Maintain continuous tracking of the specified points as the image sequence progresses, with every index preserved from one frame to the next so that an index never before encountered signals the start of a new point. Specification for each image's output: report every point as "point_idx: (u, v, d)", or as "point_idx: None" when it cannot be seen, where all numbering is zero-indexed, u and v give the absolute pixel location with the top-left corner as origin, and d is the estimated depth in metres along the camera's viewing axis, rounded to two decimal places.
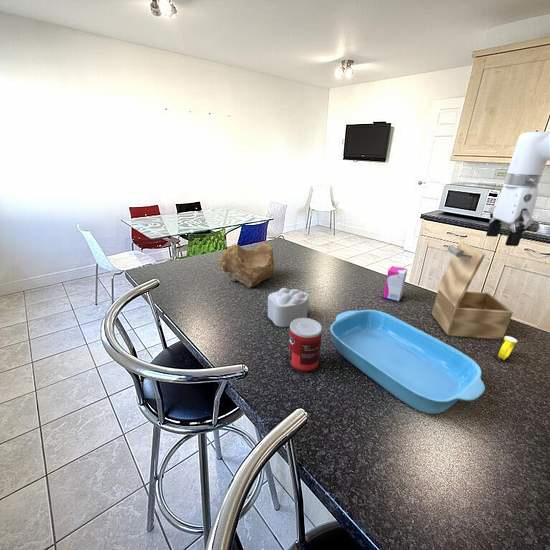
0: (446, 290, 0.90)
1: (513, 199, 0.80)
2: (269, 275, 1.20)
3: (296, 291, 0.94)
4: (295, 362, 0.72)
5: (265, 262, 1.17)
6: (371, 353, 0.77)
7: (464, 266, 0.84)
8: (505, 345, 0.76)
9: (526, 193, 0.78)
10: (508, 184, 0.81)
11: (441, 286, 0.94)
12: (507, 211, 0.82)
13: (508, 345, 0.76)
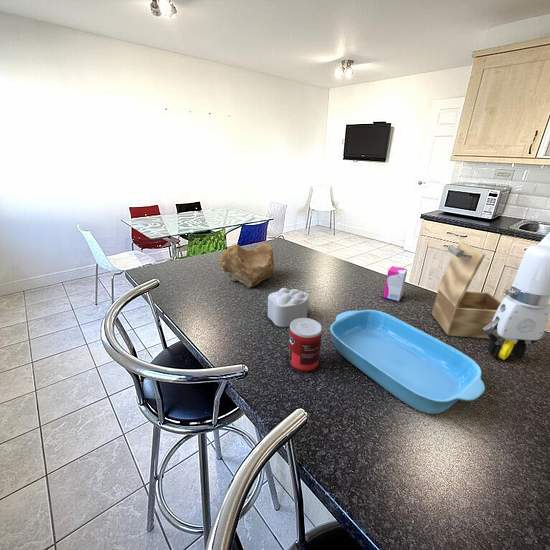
0: (446, 290, 0.90)
1: None
2: (269, 275, 1.20)
3: (296, 291, 0.94)
4: (295, 362, 0.72)
5: (265, 262, 1.17)
6: (372, 353, 0.77)
7: (464, 266, 0.84)
8: (505, 345, 0.76)
9: (503, 302, 0.74)
10: None
11: (441, 286, 0.94)
12: None
13: (508, 345, 0.76)
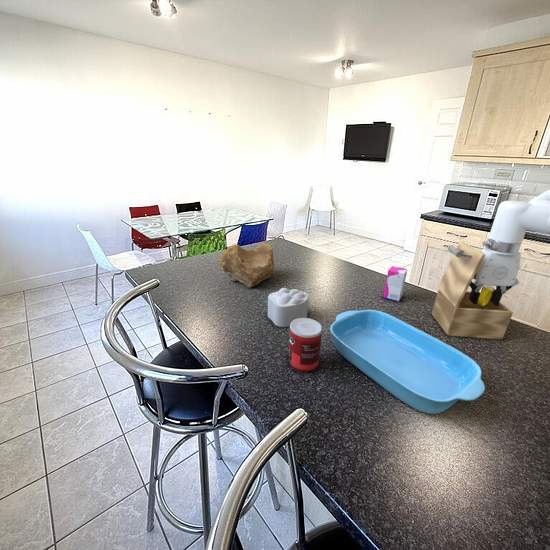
0: (446, 290, 0.90)
1: None
2: (269, 275, 1.20)
3: (296, 291, 0.94)
4: (295, 362, 0.72)
5: (265, 262, 1.17)
6: (372, 353, 0.77)
7: (464, 266, 0.84)
8: (483, 292, 0.86)
9: None
10: None
11: (441, 286, 0.94)
12: None
13: (486, 292, 0.86)
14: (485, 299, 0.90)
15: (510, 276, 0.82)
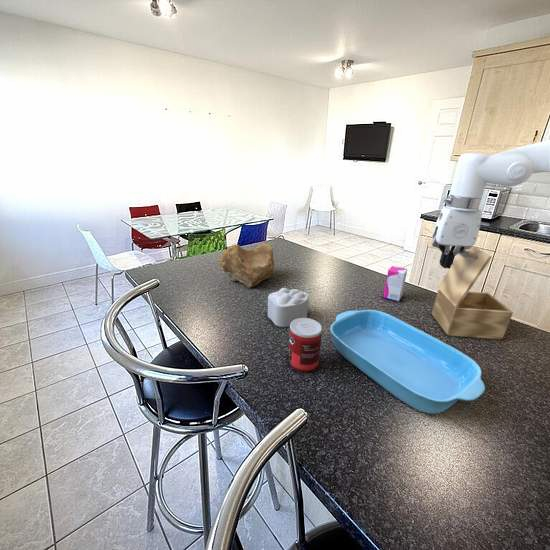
0: (447, 290, 0.90)
1: None
2: (269, 275, 1.20)
3: (296, 291, 0.94)
4: (295, 362, 0.72)
5: (265, 262, 1.17)
6: (372, 353, 0.77)
7: (468, 267, 0.84)
8: None
9: (441, 211, 0.80)
10: None
11: (441, 286, 0.94)
12: None
13: None
14: None
15: (471, 235, 0.78)
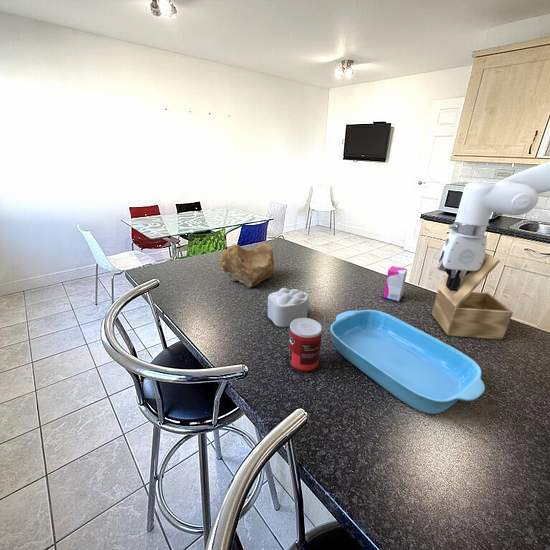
0: (448, 290, 0.90)
1: None
2: (269, 275, 1.20)
3: (296, 291, 0.94)
4: (295, 362, 0.72)
5: (265, 262, 1.17)
6: (372, 353, 0.77)
7: None
8: None
9: (447, 237, 0.82)
10: None
11: (442, 286, 0.94)
12: None
13: None
14: None
15: (476, 260, 0.81)
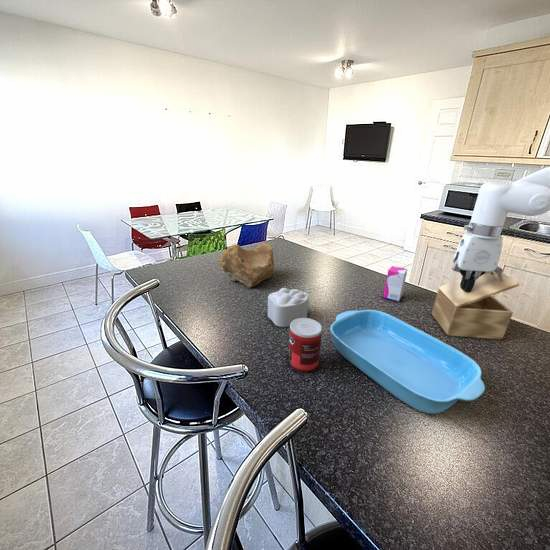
0: (450, 292, 0.90)
1: None
2: (269, 275, 1.20)
3: (296, 291, 0.94)
4: (295, 362, 0.72)
5: (265, 262, 1.17)
6: (372, 353, 0.77)
7: (487, 284, 0.85)
8: None
9: (462, 237, 0.82)
10: None
11: (444, 287, 0.94)
12: None
13: None
14: None
15: (492, 261, 0.80)
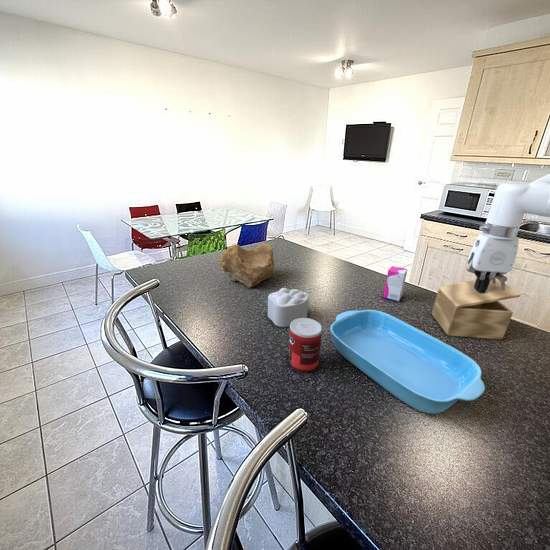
0: (451, 293, 0.90)
1: None
2: (269, 275, 1.20)
3: (296, 291, 0.94)
4: (295, 362, 0.72)
5: (265, 262, 1.17)
6: (372, 353, 0.77)
7: (488, 291, 0.86)
8: None
9: (478, 238, 0.82)
10: None
11: (444, 288, 0.94)
12: None
13: None
14: None
15: (507, 262, 0.80)
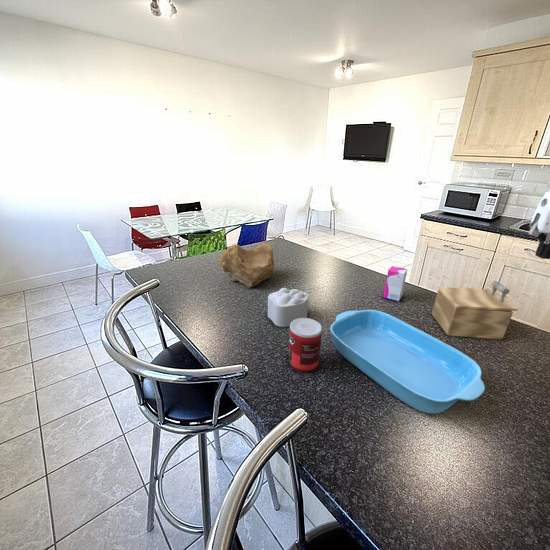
0: (451, 294, 0.90)
1: None
2: (269, 275, 1.20)
3: (296, 291, 0.94)
4: (295, 362, 0.72)
5: (265, 262, 1.17)
6: (372, 353, 0.77)
7: (487, 300, 0.87)
8: None
9: (544, 197, 0.74)
10: None
11: (445, 289, 0.94)
12: None
13: None
14: None
15: None
